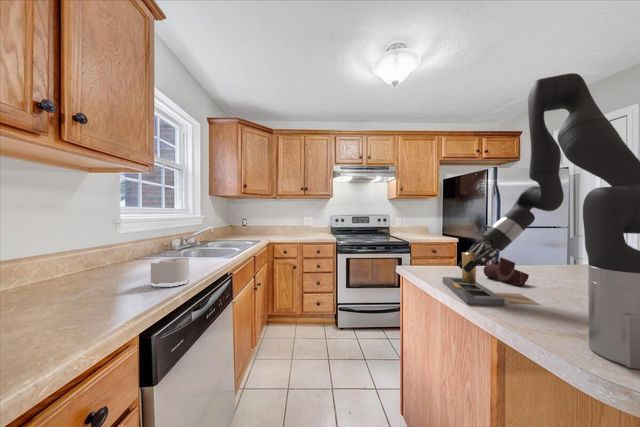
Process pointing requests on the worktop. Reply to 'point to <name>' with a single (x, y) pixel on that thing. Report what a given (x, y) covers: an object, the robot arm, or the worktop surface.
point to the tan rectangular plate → (516, 298)
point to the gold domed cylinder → (471, 276)
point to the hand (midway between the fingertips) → (462, 268)
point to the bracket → (506, 272)
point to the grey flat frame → (473, 292)
